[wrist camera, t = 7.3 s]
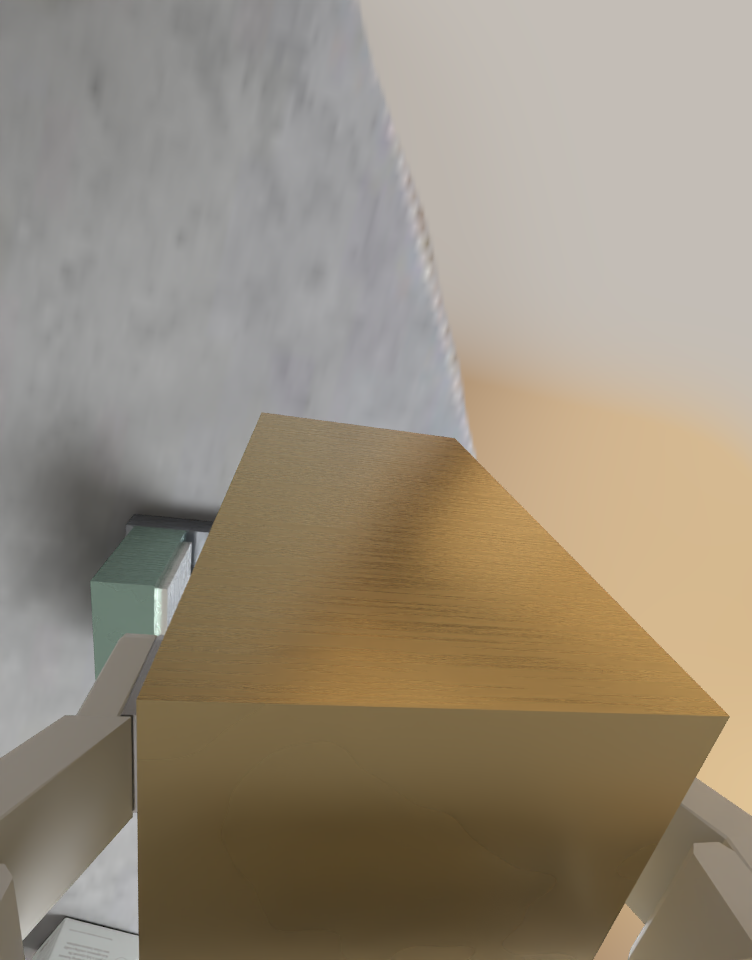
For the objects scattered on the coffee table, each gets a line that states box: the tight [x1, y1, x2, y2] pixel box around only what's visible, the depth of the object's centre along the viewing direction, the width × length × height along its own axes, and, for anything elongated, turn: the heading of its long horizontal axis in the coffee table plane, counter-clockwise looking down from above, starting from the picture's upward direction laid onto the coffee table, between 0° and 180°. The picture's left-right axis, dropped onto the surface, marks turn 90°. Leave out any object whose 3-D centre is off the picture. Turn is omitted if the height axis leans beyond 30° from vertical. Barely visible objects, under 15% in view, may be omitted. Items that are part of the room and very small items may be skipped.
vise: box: [90, 514, 214, 679], centre depth 30 cm, size 21×11×8 cm, turn 80°
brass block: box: [136, 413, 729, 960], centre depth 8 cm, size 4×7×8 cm, turn 170°
